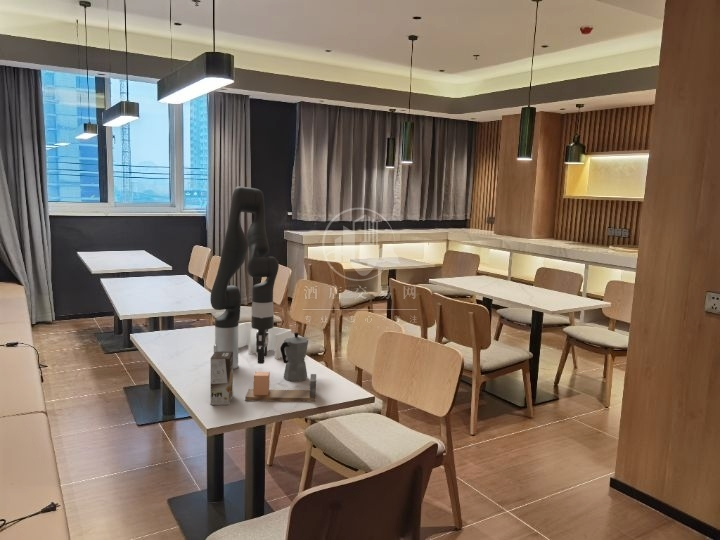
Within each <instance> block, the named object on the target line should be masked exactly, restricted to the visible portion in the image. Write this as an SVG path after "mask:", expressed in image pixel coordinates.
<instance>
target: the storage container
mask: <svg viewBox="0 0 720 540" xmlns="http://www.w3.org/2000/svg"><path fill="white" fill-rule="evenodd" d="M292 331H293V330H292V329H288V328H281V327H276V326H273V328H271V329H268V332H269V337H268V338H269V340H268V345H267V352H269V351H268V350H270V351H274V350H275V351H274V360H278V358H279V359H281V358H282V353H281V349H280V348H281V345H282V344H283V343H284V340H285V339H286V338H292ZM257 332H258V330H257V329H253V328H252V322H242V323H240V324H239V323H238V349H241V348H242V347H245V345H246V346H248V352H247V353H248V355H251V354H252V355H253V354H255V356H257V357H258V353H256V340H257V339H256V334H257ZM259 349H261V347H259ZM285 355H286V352H285ZM280 357H281V358H280Z"/></svg>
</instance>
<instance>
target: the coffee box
mask: <svg viewBox="0 0 720 540" xmlns="http://www.w3.org/2000/svg"><path fill="white" fill-rule="evenodd" d="M233 381H234V369H233V352H230V351H221V352H215V353H214V352H213V354H212V355H211V356H210V402H209V403H210V405H214V406H215V405H221V406H222V405H223V406H224V405H225V406H228V405H230V402H231V401H232V398H233V393H234V392H233V390H234V388H233V387H234V383H233Z"/></svg>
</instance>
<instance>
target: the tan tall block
mask: <svg viewBox="0 0 720 540" xmlns="http://www.w3.org/2000/svg"><path fill="white" fill-rule="evenodd" d="M270 374H271V373H270V371H254V374H253V388H252V389H253V395H268V393H269V389H270V377H271V375H270Z"/></svg>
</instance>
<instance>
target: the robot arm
mask: <svg viewBox="0 0 720 540" xmlns="http://www.w3.org/2000/svg"><path fill="white" fill-rule="evenodd" d="M231 195H232V197H231V203H230V210H229V215H228V216H229V217H228V223H227V228H226V233H225V237H224V241H223V244H222V250H221V254H220V260H219V263H218V270H217V272H216V276H215V279H214V282H213V285H212V288H211V292H210V301H209V302H210V305H211V307H212V309H214V310H215V311H224V310H225V311H224V312H223V313H221V314H220V315H219V316H217V317H216V318H214V319H215V320H214V345H213V354H214V353H215V352H221V351H230V352H233V370H235V369H237V368H238V367H239V348H238V325H239V322H240V318H241V302H242V300H241V299H242V296H241V291H240V289H239V288H238V286H236V285H229V283H230V281H231V280H232V278H233V277H234V275H235V274H236V273H237V272H238V271H239V270H240V268H241V267H242V266H243V264H244V263H245V260H246V256H247V252H248V261H247V264H246V265H247V266H246V269H247V270H246V271H247V274H248V275H249V276H250V277H252V278H265V280H264V281H262V282H260V283H256V284H254V285H253V286H252V291H251V292H252V295H251V297H252V299H251V323H252V328H253V329H257V330H258V332H257V334H256V339H257V340H256V352H255V354H256V353H258V356H257V364H259V365H261V364H264V363H265V357H267V356H268V351H267V345H268V340H269V338H268V337H269V332H268V329H271V328H273V327H275V326H274V325H275V324H274V321H275V319H274V317H275V316H274V315H275V314H274V311H275V310H274V287H275V283H276V279H277V275H278V273H279V261H278V259H277V258H276V257H274V256H267V255H268V254H269V252H270V246H269V240H268V235H267V231H266V229H267V228H266V211H265V210H266V209H265V207H266V206H265V197H264V192H263V191H262V190H260V189H258V188H254V187H246V186H236V187H235V188H234V190H233V192H232V194H231ZM241 213H249V214H254V219H253V221H252V223H251V224H250V226H249V228H248V229H247V232H246V235H245V232H244V229H243V228H242V224H241ZM259 347H261V349H259Z"/></svg>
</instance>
